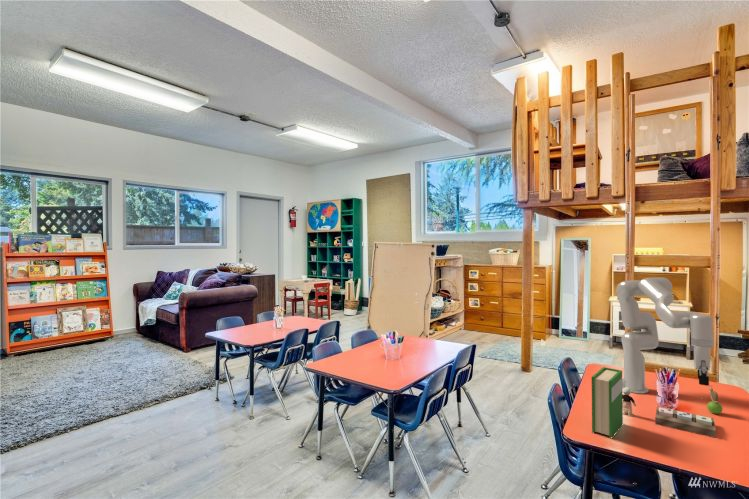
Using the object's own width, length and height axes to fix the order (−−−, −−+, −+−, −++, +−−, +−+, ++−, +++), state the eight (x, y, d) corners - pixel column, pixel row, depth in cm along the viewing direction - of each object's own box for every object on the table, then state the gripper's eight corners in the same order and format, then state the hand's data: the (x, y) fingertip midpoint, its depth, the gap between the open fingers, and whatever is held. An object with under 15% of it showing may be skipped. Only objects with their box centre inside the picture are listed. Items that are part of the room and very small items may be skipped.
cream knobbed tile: (696, 424, 162) (696, 418, 162) (696, 420, 166) (695, 414, 166) (711, 428, 159) (711, 421, 159) (711, 423, 163) (711, 417, 163)
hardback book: (612, 438, 156) (611, 381, 156) (592, 432, 161) (591, 376, 161) (622, 424, 168) (622, 370, 168) (603, 418, 173) (603, 367, 173)
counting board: (655, 424, 168) (655, 417, 168) (656, 412, 179) (656, 406, 179) (715, 437, 155) (715, 430, 155) (713, 425, 166) (713, 418, 166)
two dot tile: (658, 416, 171) (658, 410, 170) (659, 412, 174) (659, 406, 174) (672, 419, 167) (672, 413, 167) (672, 415, 171) (672, 409, 171)
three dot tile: (677, 420, 166) (677, 414, 166) (677, 416, 170) (677, 410, 170) (691, 423, 163) (691, 417, 163) (691, 419, 167) (691, 413, 167)
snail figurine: (717, 410, 180) (717, 385, 180) (725, 416, 174) (724, 390, 174) (703, 409, 182) (703, 384, 181) (710, 415, 176) (710, 389, 175)
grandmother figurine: (637, 415, 177) (637, 388, 176) (635, 418, 174) (635, 390, 174) (618, 410, 182) (617, 384, 182) (616, 413, 179) (616, 386, 179)
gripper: (690, 338, 175) (691, 375, 174) (691, 345, 161) (692, 385, 161) (711, 340, 170) (713, 378, 170) (715, 347, 156) (716, 389, 156)
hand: (703, 381), depth 165 cm, fingers open, 9 cm apart
